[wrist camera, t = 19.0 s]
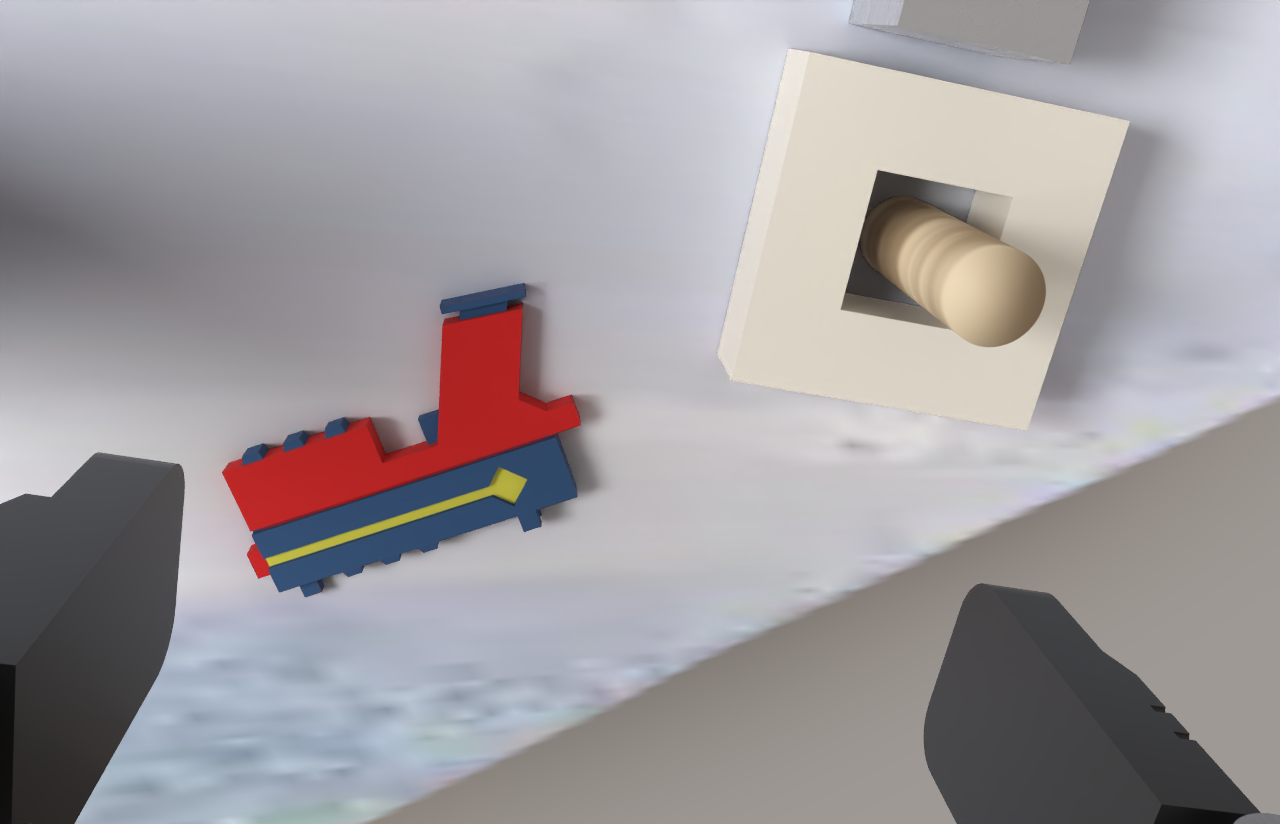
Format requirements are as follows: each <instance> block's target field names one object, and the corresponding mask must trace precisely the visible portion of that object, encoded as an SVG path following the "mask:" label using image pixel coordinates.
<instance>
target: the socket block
mask: <svg viewBox="0 0 1280 824" xmlns="http://www.w3.org/2000/svg"><path fill="white" fill-rule="evenodd" d="M1129 123H1130V121H1128V120H1123V119H1118V118H1114V117H1109V116H1104V115H1100V114H1095V113H1091V112H1086V111H1081V110H1077V109H1072V108H1067V107H1063V106H1058V105H1054V104H1049V103H1044V102H1040V101H1035V100H1030V99H1026V98H1021V97H1017V96H1012V95H1007V94H1003V93H998V92H993V91H989V90H984V89H980V88H975V87H970V86H966V85H961V84H956V83H952V82H947V81H943V80H938V79H933V78H929V77H924V76H919V75H915V74H910V73H906V72H901V71H896V70H892V69H887V68H882V67H878V66H873V65H869V64H864V63H859V62H855V61H850V60H845V59H841V58H836V57H832V56H827V55H822V54H818V53H813V52H808V51H802V50H796V49H789V48H788V52H787V57H786V61H785V65H784V69H783V74H782V78H781V82H780V87H779V91H778V95H777V99H776V104H775V108H774V112H773V117H772V121H771V125H770V129H769V134H768V138H767V142H766V147H765V151H764V155H763V159H762V164H761V168H760V172H759V177H758V181H757V185H756V189H755V194H754V198H753V202H752V207H751V211H750V215H749V219H748V224H747V228H746V232H745V237H744V241H743V245H742V249H741V254H740V258H739V262H738V267H737V271H736V275H735V279H734V284H733V288H732V292H731V297H730V301H729V305H728V309H727V314H726V318H725V322H724V327H723V331H722V335H721V339H720V344H719V348H718V352H717V355H718V357H719V358H720V360H721V362H722V364H723V366H724V368H725V370H726V372H727V374H728V376H729V378H730V380H731V381H735V382H741V383H747V384H753V385H759V386H765V387H771V388H776V389H782V390H788V391H794V392H800V393H806V394H812V395H818V396H824V397H830V398H836V399H842V400H847V401H853V402H859V403H865V404H871V405H877V406H883V407H889V408H895V409H901V410H907V411H913V412H918V413H924V414H930V415H936V416H942V417H948V418H954V419H960V420H966V421H972V422H978V423H984V424H989V425H995V426H1001V427H1007V428H1013V429H1019V430H1025V431H1027V430H1028V427H1029V424H1030V421H1031V418H1032V415H1033V412H1034V409H1035V406H1036V403H1037V400H1038V397H1039V394H1040V391H1041V388H1042V385H1043V382H1044V379H1045V376H1046V373H1047V370H1048V367H1049V364H1050V361H1051V358H1052V355H1053V352H1054V349H1055V346H1056V343H1057V340H1058V337H1059V334H1060V331H1061V328H1062V325H1063V322H1064V319H1065V316H1066V313H1067V310H1068V307H1069V304H1070V301H1071V298H1072V295H1073V292H1074V289H1075V286H1076V283H1077V280H1078V277H1079V274H1080V271H1081V268H1082V265H1083V262H1084V259H1085V256H1086V253H1087V250H1088V247H1089V244H1090V241H1091V238H1092V235H1093V232H1094V229H1095V226H1096V223H1097V220H1098V217H1099V214H1100V210H1101V207H1102V204H1103V201H1104V198H1105V195H1106V192H1107V189H1108V186H1109V183H1110V180H1111V177H1112V174H1113V171H1114V168H1115V165H1116V162H1117V159H1118V156H1119V153H1120V150H1121V147H1122V144H1123V141H1124V138H1125V135H1126V132H1127V129H1128V126H1129ZM877 170H880V171H885V172H890V173H895V174H900V175H905V176H910V177H915V178H920V179H925V180H930V181H935V182H940V183H945V184H950V185H955V186H960V187H965V188H970V189H975V194H974V197H973V201H972V204H971V207H970V211H969V214H968V217H967V221H966V223H967V224H969V225H971V226H973V227H975V228H977V229H979V230H980V231H982V232H984V233H986V234H988V235H990V236H992V237H994V238H996V239H998V240H1000V241H1002V242H1004V243H1006V244H1008V245H1010V246H1012V247H1014V248H1016V249H1018V250H1020V251H1022V252H1024V253H1025V254H1027V255H1028V256H1030V257H1031V258H1032V259H1033V260H1034V261H1035V262H1036V263H1037V264H1038V266H1039V267H1040V269H1041V271H1042V273H1043V276H1044V279H1045V285H1046V297H1045V303H1044V306H1043V309H1042V312H1041V314H1040V316H1039V318H1038V319H1037V321H1036V322H1035V324H1034V325H1033V326H1032V327H1031V329H1030V330H1029V331H1028V332H1026V333H1025V334H1024V335H1023V336H1021V337H1020V338H1019V339H1017V340H1015V341H1013V342H1011V343H1009V344H1006V345H1002V346H998V347H981V346H977V345H974V344H971V343H969V342H967V341H965V340H964V339H963V338H961V337H960V336H959V335H957V334H956V333H955V332H954V331H952V330H951V329H950V328H949V327H947V326H946V325H945V324H943V323H942V322H941V321H940V320H938V319H937V318H936V317H935V316H933V315H932V314H931V313H929V312H928V311H927V310H926V309H924V308H923V307H920V306H915V305H909V304H904V303H899V302H893V301H888V300H882V299H877V298H871V297H866V296H861V295H855V294H850V293H845V291H846V287H847V283H848V279H849V276H850V272H851V268H852V264H853V260H854V257H855V253H856V249H857V245H858V242H859V238H860V234H861V230H862V227H863V223H864V219H865V215H866V212H867V208H868V204H869V200H870V197H871V193H872V189H873V185H874V182H875V178H876V174H877Z"/></svg>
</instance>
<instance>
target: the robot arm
mask: <svg viewBox="0 0 1280 824" xmlns="http://www.w3.org/2000/svg"><path fill="white" fill-rule="evenodd" d="M184 489H185V481H184V473H183V469H182V467H181V465H180V464H174V463H167V462H161V461H154V460H147V459H140V458H133V457H126V456H120V455H113V454H106V453H99V452H98V453H95V454H94V455H93V456H92V457H91V458H90V459H89V460H88V461H87V462H86V463H85V464H84V465H83V466H82V467H81V468H80V469H79V470H78V471H77V472H76V473H75V474H74V475H73V476H72V477H71V478H70V479H69V480H68V481H67V482H66V483H65V484H64V485H63V486H62V487H61V488H60V489H59V490H58V491H57V492H56V493H55V494H54V495H53V496H52V497H45V496H38V495H31V494H24V495H21V496H19V497H16V498H14V499H11V500H9V501H7V502H4V503H2V504H0V824H74V823H75V822H76V820H77V818H78V816H79V815H80V813H81V811H82V809H83V807H84V806H85V804H86V802H87V800H88V799H89V797H90V795H91V793H92V792H93V790H94V788H95V786H96V784H97V783H98V781H99V779H100V777H101V776H102V774H103V772H104V770H105V769H106V767H107V765H108V763H109V761H110V760H111V758H112V756H113V754H114V753H115V751H116V749H117V747H118V746H119V744H120V742H121V740H122V738H123V737H124V735H125V733H126V731H127V730H128V728H129V726H130V724H131V723H132V721H133V719H134V717H135V715H136V714H137V712H138V710H139V708H140V707H141V705H142V703H143V701H144V700H145V698H146V696H147V694H148V692H149V691H150V689H151V687H152V685H153V684H154V682H155V680H156V678H157V676H158V674H159V672H160V670H161V667H162V665H163V662H164V659H165V656H166V653H167V650H168V646H169V642H170V638H171V633H172V628H173V623H174V616H175V607H176V594H177V581H178V568H179V555H180V543H181V530H182V517H183V504H184ZM924 750H925V756H926V761H927V764H928V768H929V770H930V772H931V774H932V776H933V778H934V780H935V782H936V784H937V786H938V788H939V790H940V792H941V794H942V796H943V798H944V799H945V802H946V804H947V806H948V807H949V809H950V811H951V813H952V815H953V817H954V819H955V821H956V823H957V824H1280V815H1276V814H1269V813H1260V812H1259V810H1258V809H1257V808H1256V807H1255V806H1254V805H1253V804H1252V803H1251V802H1250V800H1249V799H1248V798H1247V797H1246V796H1245V795H1244V794H1243V793H1242V792H1241V790H1240V789H1239V788H1238V787H1237V786H1236V785H1235V784H1234V783H1233V782H1232V780H1231V779H1230V778H1229V777H1228V776H1227V775H1226V774H1225V773H1224V772H1223V770H1222V769H1221V768H1220V767H1219V766H1218V765H1217V764H1216V763H1215V762H1214V760H1213V759H1212V758H1211V757H1210V756H1209V755H1208V754H1207V753H1206V752H1205V750H1204V749H1203V748H1202V747H1201V746H1200V745H1199V744H1198V743H1197V742H1196V741H1194V740H1189V733H1188V732H1187V730H1186V729H1185V728H1184V727H1183V726H1182V725H1181V724H1180V723H1179V722H1178V721H1177V719H1176V718H1175V717H1174V716H1173V715H1172V714H1170V713H1165V706H1164V705H1163V704H1162V703H1161V702H1160V701H1159V699H1158V698H1157V697H1156V696H1155V695H1154V694H1153V693H1152V692H1151V691H1150V689H1149V688H1148V687H1147V686H1146V685H1145V684H1144V683H1143V682H1142V681H1141V679H1140V678H1139V677H1138V676H1137V675H1136V674H1134V673H1133V672H1131V671H1130V670H1129V669H1127V668H1126V667H1124V666H1123V665H1121V664H1120V663H1119V662H1117V661H1116V660H1114V659H1113V658H1111V657H1110V656H1109V655H1107V654H1106V653H1104V652H1103V651H1102V650H1101V649H1100V648H1099V647H1098V646H1097V644H1096V643H1095V642H1094V641H1093V640H1092V639H1091V638H1090V636H1089V635H1088V634H1087V633H1086V632H1085V631H1084V630H1083V629H1082V627H1081V626H1080V625H1079V624H1078V623H1077V622H1076V621H1075V619H1074V618H1073V617H1072V616H1071V615H1070V614H1069V613H1068V612H1067V611H1066V609H1065V608H1064V607H1063V606H1062V605H1061V604H1060V602H1059V601H1058V600H1057V599H1056V598H1055V597H1054V596H1053V595H1051V594H1049V593H1044V592H1037V591H1030V590H1023V589H1017V588H1010V587H1003V586H995V585H989V584H982V583H981V584H977V585H976V586H974V587H973V588H972V589H971V590H970V591H969V593H968V594H967V595H966V597H965V599H964V601H963V604H962V606H961V609H960V612H959V615H958V618H957V621H956V624H955V627H954V630H953V633H952V636H951V639H950V642H949V645H948V648H947V651H946V654H945V657H944V660H943V663H942V666H941V669H940V673H939V675H938V678H937V681H936V685H935V687H934V690H933V693H932V696H931V700H930V703H929V706H928V710H927V713H926V718H925V725H924Z"/></svg>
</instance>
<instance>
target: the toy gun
mask: <svg viewBox="0 0 1280 824" xmlns="http://www.w3.org/2000/svg"><path fill="white" fill-rule="evenodd" d="M523 297H526V289H525V284H524V283H522V284H517V285H513V286H508V287H503V288H498V289H493V290H488V291H484V292H479V293H474V294H469V295H464V296H459V297H455V298H450V299H445V300H442V301H441V304H440V309H441V313H442V314H446V313H450V312H455V311H460V316H456V317H452V318H447V319H444V323H443V327H442V351H441V374H440V397H439V410H436V411H433V412H430V413H427V414H423V415H420V416H419V419H418V420H419V423H420V425H421V428H422V430H423V433H424V435H425V438H426V440H427V441H425V442H422V443H419V444H416V445H413V446H410V447H407V448H404V449H400V450H397V451H394V452H391V453H388V454H385V451H384V449H383V447H382V444H381V442H380V440H379V437H378V435H377V433H376V430H375V428H374V426H373V423H372V421H371V418H370V417H369V418H366V419H363V420H359V421H356V422H353V423H349V422H348V421H347V420H346V419H345V418H344V417H343V418H340V419H337V420H334V421H331V422H329V423H328V425H327V427H326V428H325V432H322V433H319V434H316V435H313V436H310V437H309V436H308V435H307V434H306V433H305V431H304V430H303V431H300V432H297V433H294V434H291V435H288V437H287V438H286V440H285V442H284V443H283V445H282V446H279V447H276V448H273V449H270V450H269V449H268V448H267V447H266V446H265V445H264V444H260V445H257V446H254V447H251V448H248V449H247V451H246V452H245V453H244V455H243V456H242V459H239V460H236V461H233V462H230V463H228V465H227V466H226V468H225V469H224V470H223V472H222V473H223V475H224V477H225V480H226V482H227V484H228V486H229V488H230V490H231V492H232V494H233V496H234V498H235V500H236V502H237V504H238V506H239V509H240V511H241V513H242V515H243V517H244V519H245V521H246V523H247V525H248V527H249V529H250V531H253V534H252V537H253V539H254V541H255V543H256V544H254V545H252V546H251V548H250V550H249V551H248V553H247V556H248V558H249V560H250V562H251V564H252V566H253V569H254V571H255V573H256V575H257V577H258V578H262V577H265V576H268V575H271V577H272V579H273V581H274V583H275V585H276V587H277V589H278V591H279V592H282V591H286V590H289V589H292V588H295V587H298V586H300V588H301V590H302V592H303V594H304V596H305V597H308V596H311V595H314V594H317V593H320V592H322V590H323V587H324V585H323V583H322V581H321V579H323V578H326V577H329V576H332V575H335V574H339V573H342V572H343V573H344V574H345V575H347V576H348V577H349V576H353V575H356V574H359V573H362V571H363V568H364V565H367V564H370V563H373V562H376V561H379V560H381V561H382V562H383V563H384V564H386V565H387V564H390V563H393V562H396V561H399V560H400V558H401V554H402V553H404V552H407V551H410V550H413V549H416V548H419V549H420V550H421V551H422V552H423V553H424V552H427V551H431V550H434V549H437V548H438V543H439V541H441V540H445V539H448V538H451V537H454V536H457V535H460V534H463V533H466V532H469V531H473V530H476V529H479V528H482V527H485V526H488V525H491V524H494V523H498V522H501V521H504V520H507V519H510V518H513V517H516V516H518V518H519V520H520V523H521V526H522V528H523V531H524V532H526V531H529V530H532V529H535V528H538V527H541V519H540V516H541V512H540V510H539V509H541V508H544V507H547V506H550V505H554V504H557V503H560V502H563V501H566V500H569V499H572V498H575V497H577V487H576V483H575V481H574V478H573V475H572V472H571V470H570V467H569V464H568V461H567V459H566V456H565V453H564V450H563V448H562V445H561V442H560V439H559V437H558V434H557V433H558V432H561V431H565V430H568V429H571V428H574V427H577V426H580V425H581V424H580V416H579V413H578V411H577V408H576V405H575V403H574V400H573V397H572V395H569V396H566V397H563V398H560V399H557V400H554V401H551V402H548V403H545V402H543V401H540V400H538V399H535V398H533V397H530V396H528V395H526V394H523V393H521V392H519V379H520V356H521V332H522V309H523V303H519V304H514V305H509V306H507V303H508V300H513V299H518V298H523Z"/></svg>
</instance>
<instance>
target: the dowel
mask: <svg viewBox="0 0 1280 824" xmlns="http://www.w3.org/2000/svg"><path fill="white" fill-rule="evenodd" d="M860 247H861V251H862V254H863V256H864V258H865V260H866V261H867V263H868V264H869V265H870V266H871V267H872V268H873V269H875V270H876V271H877V272H879V273H880V274H881V275H882V276H884V277H885V278H886V279H887V280H889V281H890V282H891V283H893V284H894V285H895V286H896V287H898V288H899V289H900V290H901V291H903V292H904V293H905V294H907V295H908V296H909V297H910V298H912V299H913V300H914V301H915V302H917V303H918V304H919V305H921V306H922V307H923V308H924V309H926V310H927V311H928V312H929V313H931V314H932V315H933V316H935V317H936V318H937V319H938V320H940V321H941V322H942V323H943V324H945V325H946V326H947V327H949V328H950V329H951V330H952V331H954V332H955V333H956V334H957V335H959V336H960V337H961V338H963V339H964V340H965V341H967V342H969V343H971V344H974V345H977V346H981V347H998V346H1002V345H1006V344H1009V343H1011V342H1013V341H1015V340H1017V339H1019V338H1020V337H1021V336H1023V335H1024V334H1025V333H1026V332H1028V331H1029V330H1030V329H1031V327H1032V326H1033V325H1034V324H1035V322H1036V321H1037V319H1038V318H1039V316H1040V314H1041V312H1042V309H1043V306H1044V303H1045V297H1046V285H1045V279H1044V276H1043V273H1042V271H1041V269H1040V267H1039V266H1038V264H1037V263H1036V262H1035V261H1034V260H1033V259H1032V258H1031V257H1030V256H1028V255H1027V254H1025V253H1024V252H1022V251H1020V250H1018V249H1016V248H1014V247H1012V246H1010V245H1008V244H1006V243H1004V242H1002V241H1000V240H998V239H996V238H994V237H992V236H990V235H988V234H986V233H984V232H982V231H980V230H979V229H977V228H975V227H973V226H971V225H969V224H967V223H965V222H963V221H961V220H959V219H957V218H955V217H953V216H951V215H949V214H947V213H945V212H943V211H941V210H939V209H937V208H935V207H933V206H931V205H929V204H927V203H926V202H924V201H922V200H920V199H917V198H915V197H911V196H896V197H892V198H889V199H886V200H884V201H883V202H881V203H879V204H878V205H877V206H875V207H874V208H873V209H872V210H871V212H870V213H869V214H868V216H867V217H866V219H865V221H864V223H863V227H862V230H861V234H860Z"/></svg>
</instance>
